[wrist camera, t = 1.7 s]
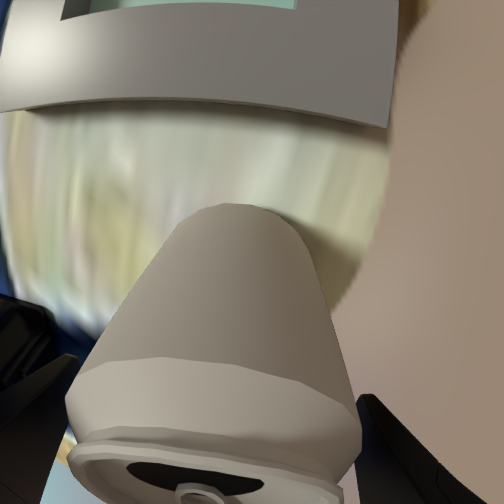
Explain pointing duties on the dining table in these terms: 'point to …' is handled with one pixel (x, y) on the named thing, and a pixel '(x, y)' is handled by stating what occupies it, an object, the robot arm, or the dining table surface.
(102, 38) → the pocket frame
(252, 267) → the can
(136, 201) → the dining table surface
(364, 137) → the dining table surface
